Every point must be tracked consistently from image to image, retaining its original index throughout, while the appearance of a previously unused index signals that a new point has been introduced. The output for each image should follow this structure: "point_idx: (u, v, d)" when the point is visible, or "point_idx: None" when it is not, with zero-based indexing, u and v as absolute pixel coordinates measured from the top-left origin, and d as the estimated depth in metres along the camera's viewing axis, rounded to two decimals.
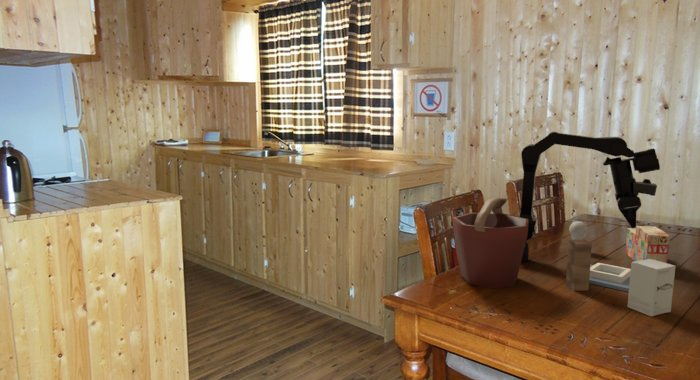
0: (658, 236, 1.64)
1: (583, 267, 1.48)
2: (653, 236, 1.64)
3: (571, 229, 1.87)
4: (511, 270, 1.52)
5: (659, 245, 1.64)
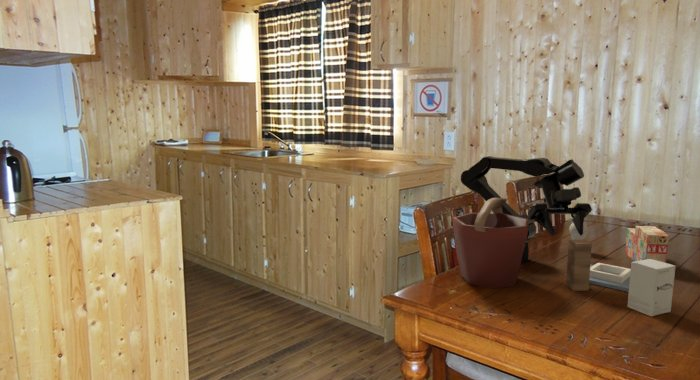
0: (657, 236, 1.64)
1: (583, 267, 1.48)
2: (652, 236, 1.64)
3: (571, 229, 1.87)
4: (511, 270, 1.52)
5: (658, 244, 1.64)
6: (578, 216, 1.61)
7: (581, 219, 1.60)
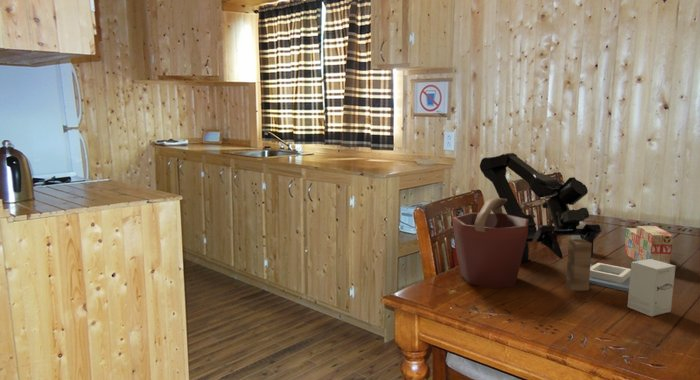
0: (662, 236, 1.64)
1: (583, 267, 1.48)
2: (657, 236, 1.64)
3: None
4: (511, 270, 1.52)
5: (662, 244, 1.64)
6: (587, 237, 1.55)
7: (591, 241, 1.54)
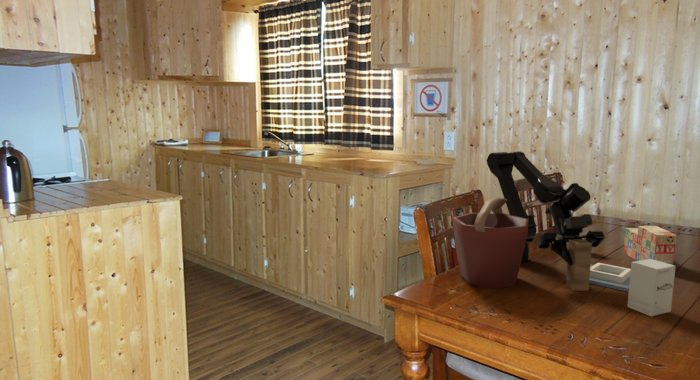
0: (665, 236, 1.64)
1: (583, 267, 1.48)
2: (661, 236, 1.64)
3: None
4: (511, 270, 1.52)
5: (666, 244, 1.64)
6: None
7: None
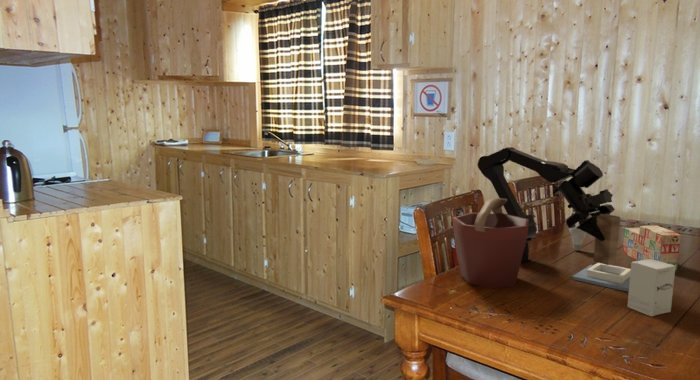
0: (670, 236, 1.64)
1: (614, 241, 1.53)
2: (666, 236, 1.64)
3: (571, 229, 1.87)
4: (511, 270, 1.52)
5: (671, 244, 1.65)
6: None
7: None
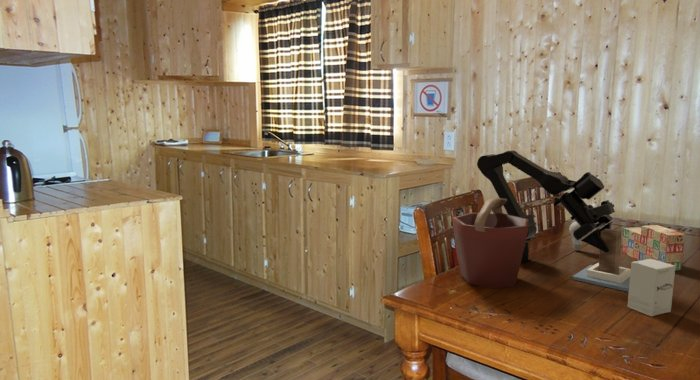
0: (675, 235, 1.65)
1: (617, 255, 1.57)
2: (671, 236, 1.65)
3: (571, 229, 1.87)
4: (511, 270, 1.52)
5: (676, 244, 1.65)
6: (606, 228, 1.62)
7: None
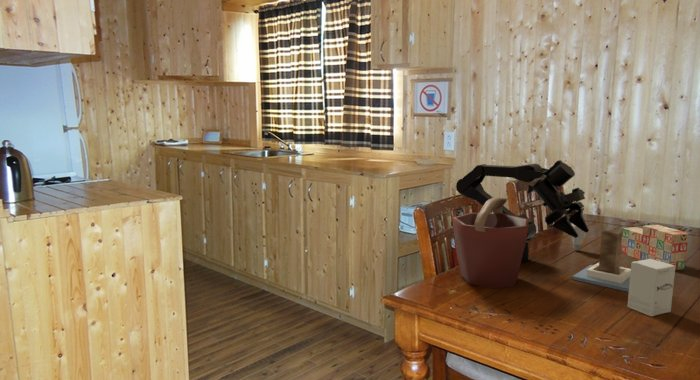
0: (680, 235, 1.65)
1: (618, 255, 1.56)
2: (676, 235, 1.65)
3: None
4: (511, 270, 1.52)
5: (680, 243, 1.66)
6: (578, 215, 1.68)
7: (582, 217, 1.68)
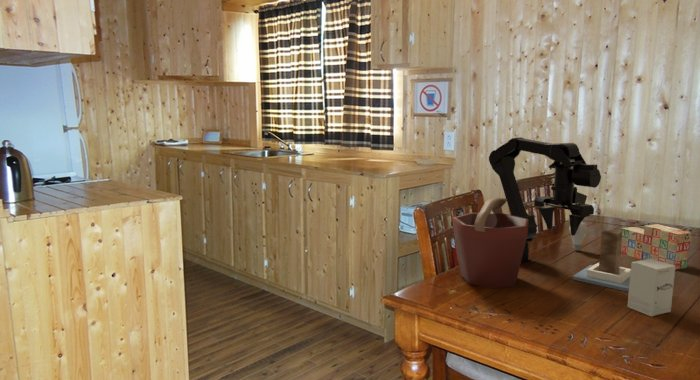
0: (683, 234, 1.66)
1: (618, 255, 1.56)
2: (680, 235, 1.66)
3: None
4: (511, 270, 1.52)
5: (684, 242, 1.67)
6: (552, 210, 1.68)
7: None
